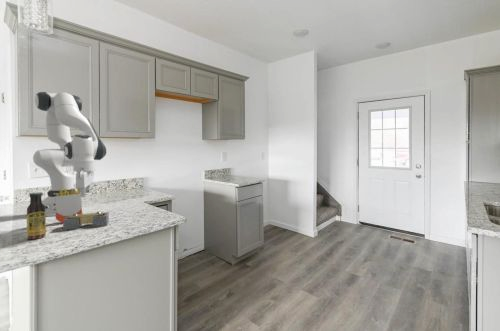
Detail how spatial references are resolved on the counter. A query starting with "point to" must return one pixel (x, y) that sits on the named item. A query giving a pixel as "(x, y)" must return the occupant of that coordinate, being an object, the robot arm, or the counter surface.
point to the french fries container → (67, 204)
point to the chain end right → (101, 220)
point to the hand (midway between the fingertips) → (85, 194)
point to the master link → (86, 217)
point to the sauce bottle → (36, 217)
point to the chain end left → (71, 223)
